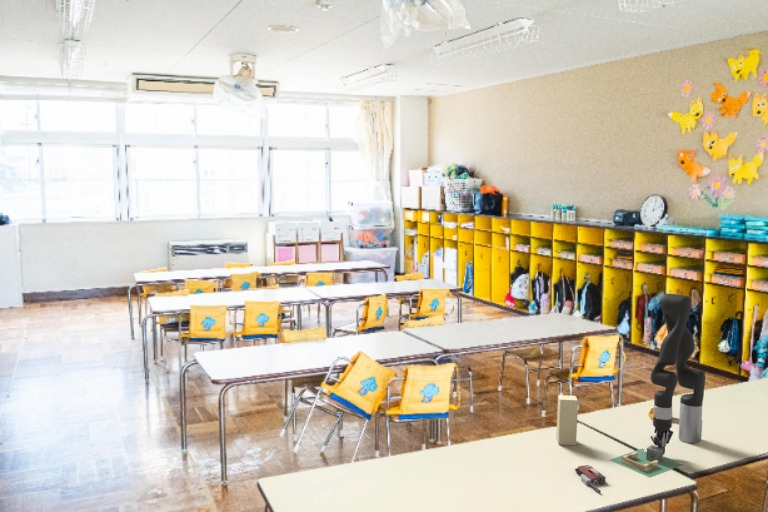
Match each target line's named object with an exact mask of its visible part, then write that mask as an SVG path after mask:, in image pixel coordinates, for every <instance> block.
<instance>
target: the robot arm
mask: <svg viewBox="0 0 768 512" xmlns="http://www.w3.org/2000/svg"><path fill="white" fill-rule="evenodd" d="M660 303H661V305H660V307H661V311H662V315H663V317H664V320H665V322H666V326H667V331H668V334H667V335H666V336H665V338H663V339H662V342H661V344H660V349H659V356H658V358H657V361H656V363H655V365H654V367H653V369H652V371H651V374H650V381H651V383H652V384H653V385H655V386H660V387H663V388H665V389H664V390H657V391H654V392H655V393H654V401H653V402H654V405H653V408H654V409H653V420H652V426H653V427H654V431H653V432H654V434H652V435H650V439H651V441H652V442H653V444H654V446H657V447H661V448H663V456H664V455H665V453H666V447H667V445H668V444H669V443H670V441H671V439H672V437H673V435H674V431H673V430H671V428H672V427H673V397H674V392H675V389H676V387H677V385H679V386H680V387H682V388H684V389H689V390H693V391H692V393H686V394H682V395H681V396H680V399H679V400H680V401H679V420H678V438H677V439H678V440H679V441H681V442H683V443H688V444H699V443H701V440H702V434H703V418H702V417H703V402H704V397H705V396H704V394H705V387H706V374H705V371H703V370H701V369H697V368H691V367H688V365H687V362H688V360H690V358H691V357H692V355H693V354H694V352H695V349H696V347H695V345H696V344H695V342H694V341H695V340H694V336H693V334H692V332H691V331H690V330H689V329H688V328H687V324H688V320H689V318H690V316H691V315H690V314H691V311H692V305H693V303H692V298H691V297H690V296H688V295H683V294H676V293H665V294H664V295H663V296H662V297H661V301H660ZM667 366H675V368H676V369H675V370H676V372H674V371H670V370H665V368H666V367H667Z"/></svg>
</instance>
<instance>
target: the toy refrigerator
mask: <svg viewBox="0 0 768 512" xmlns="http://www.w3.org/2000/svg"><path fill="white" fill-rule="evenodd" d="M578 407H579V401H578V398H577V396H576V395H563V394H561V395H560V394H559V395H557V413H556V414H557V415H556V441H557V444H558V445H559V446H560V445H561V446H577V435H578V432H577V431H578V412H579V411H578V409H579V408H578Z"/></svg>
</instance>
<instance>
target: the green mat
mask: <svg viewBox="0 0 768 512" xmlns="http://www.w3.org/2000/svg"><path fill="white" fill-rule="evenodd" d="M644 450H646V448H645V449H644V448H639V449H637V450H634V451H631V452H628V453H625V454H622V455H619V456H617V457H614V458H611V459H609V461H611V462H613V463H616V464H618V465H619V466H622V467H623V468H627V469H629V470H632V471H633V472H636V473H638V474H641V475H642V476H645V477H647V478H652V477H656V476H658V475H661V474H663V473H666V472H669V471H670V470H673V469H675V468H678V467H681V466H684V464H683V463H680V462H677V461H675V460H673V459H670V458H668V457H665V456H663V460H661V461H660V462H659V463H658V467H656V468H653V469H651V470H648V471H645V472H642V471H640V470H637V469H635V468H633V467H630V466H628V465H626V464H623V463H621V457H623V456H626V455H628V454H631V453H634V452H637V453H638V458H637V459H634V460H633V461H635V462H638V463H640V464H642V465H644V464H647V463H650V462H653V461H649V460H646V451H645V452H644Z"/></svg>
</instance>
